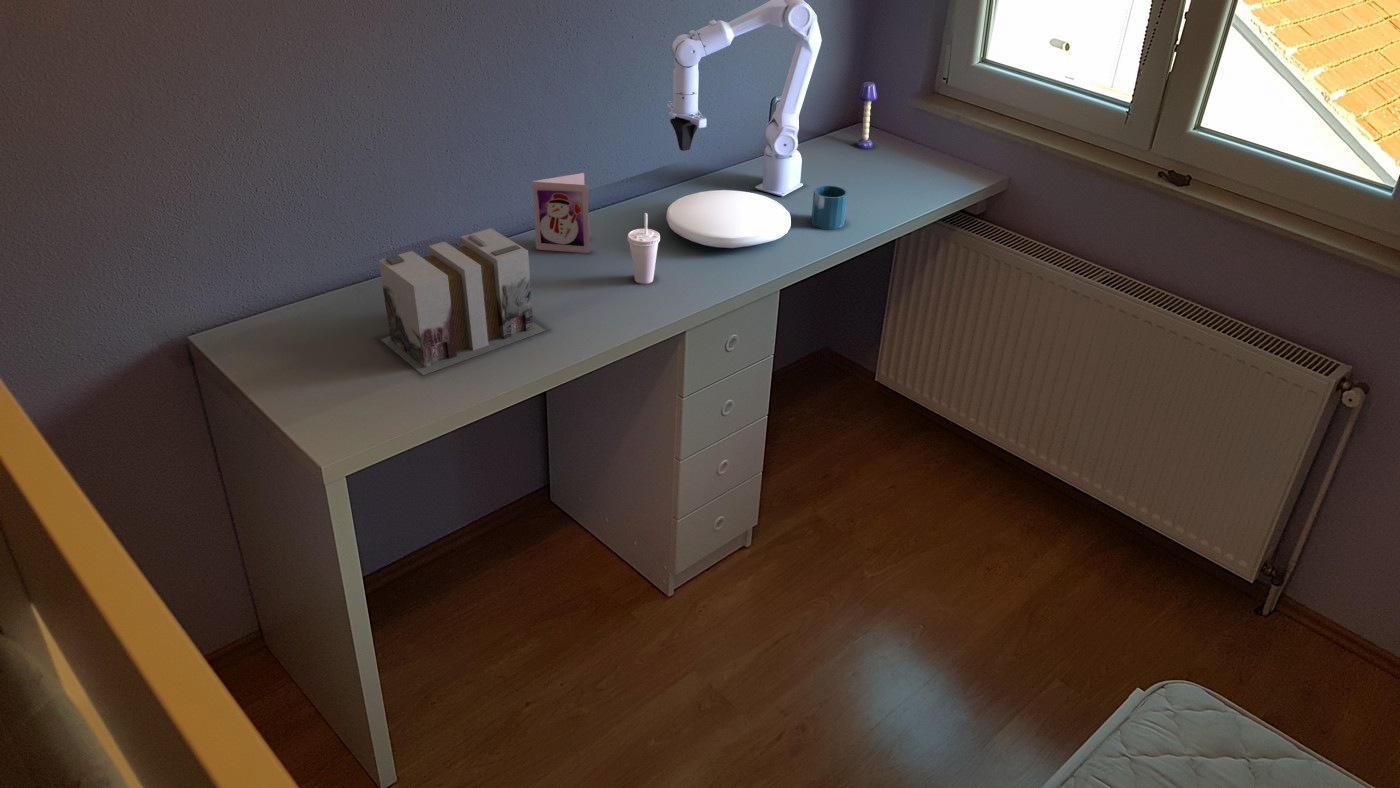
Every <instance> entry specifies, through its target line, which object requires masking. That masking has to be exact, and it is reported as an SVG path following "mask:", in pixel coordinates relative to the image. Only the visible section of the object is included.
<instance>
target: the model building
mask: <svg viewBox="0 0 1400 788" xmlns="http://www.w3.org/2000/svg"><path fill="white" fill-rule="evenodd" d="M428 252H429V255H428V256H423V257H422V256H421V255H419V254H418V253H416V252H415V251H413V250H409V251H407V252H402V253H399V254H396V255H391V256H388V257H385V258H382V259H379V260H378V267H379V271H380V278H381V285H382V292H383V298H384V305H385V310H386V318H387V324H388V330H389V336H386V337H383V338H380V339H379V340H380V341H382V342H383V344H385V345H386V346H387V347H389V349H391V350H392V351H393V352H394V353H396V354H397V355H398V356H399V357H401V358H402V359H403V360H404V361H405V362H406V363H407V364H409V365H410V366H411V367H412V368H414V369H415V370H416V371H417V372H418V373H419V374H420V375H422V376H425V375H428V374H431V373H434V372H436V371H439V370H442V369H445V368H447V367H451V366H452V365H455V364H458V363H461V362H463V361H466V360H470V359H472V358H475V357H478V356H481V355H483V354H486V353H489V352H491V351H494V350H497V349H500V348H502V347H505V346H508V345H511V344H513V343H516V342H519V341H521V340H524V339H527V338H529V337H530V338H531V337H533V336H535V335H538V334H541V333H543V332H546V331H547V330H546V329H544V327H542V326H540V325H539V324H537V323H536V322H535V321H534V317H533V302H532V301H533V300H532V288H531V287H532V286H531V273H530V260H529V250H528V249H526V248H524V247H523V246H521V245H519V244H518V243H517V242H514V241H513V240H511V239H510V238H508V237H507V236H505V235H503V234H502V233H500V232H498V231H497V230H495V229H493V228H492V227H490V228H486V229H483V230H478V231H476V232H473V233H470V234H466V235H462V236H460V246H457V247H454V246H452V245H450V244H449V243H448V242H446V241H441V242H437V243H434V244H431V245H428Z"/></svg>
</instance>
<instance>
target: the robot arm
mask: <svg viewBox="0 0 1400 788" xmlns="http://www.w3.org/2000/svg"><path fill="white" fill-rule="evenodd" d="M708 23H709V24H708V25H706V26H703V27H701V28H699V29H697V30H694V29H692V30H690V31H689V34H686V33H683V34H680V35H678V36H677V37H676V38H675V39H674V40H673V42H672V45H671V47H670V48H671V49H670V50H671V53H672V55H673V57H674V58H673V70H672V101H673V103H670V105H669V104H667V107H668V108H669V110H670V111H669V112H668V116H670V117H672V118H671V119H670V120H669V122H670V124H671V126H672V128H673V131H674V133H675V136H676V141H677V145H678V148H679V150H680V151H682V152H684V151H689V150H691V147H692V144H693V143H692V142H693V140H694V138H695V137H694V136H695V134H696V132H697V129H701V128H702V129H703V128H707V118H706V117H705V116H703V113H701V112H700V109H699V78H700V77H699V75H700V74H699V73H700V71H699V63H700V62H701V59H702V58H704V57H707V56H709V55H711V54H714V53H717V52H718V51H720V50H722V49H724V48H727V47H729V46H731V45H732V42H733V40H734V38H735V37H738V36H740V35H744V34H745V33H748V32H750V31H753V30H756V29H759V28H761V27H763V26H766V25H771V26H775V27H779V28H783V27H784V25H783V24H784V23H785V26H787V28H788V29H789V30H790V31H791V32H792V34H793V36H794V38H795V40H796V41H797V42H796V46H795V49H794V53H793V55H792V59H791V63H790V66H789V68H788V69H789V70H788V73H787V76H786V80H785V83H784V86H783V90H782V93H781V96H780V100H779V102H778V103H779V104H778V106H777V109H776V110H774V112H773V113H772V116H771V119H770V121H768V123H766V125H765V126H764V130H763V136H764V139H765V140H766V142H767V144H766V146H765V148H764V154H763V170H762V171H763V173H762V182H761V183H760V184H758V185H756V186H754V190H758V191H761V192H766V193H769V194H772V195H775V196H779V197H785V196H787V195H788V194H790V193H792V192H794V191H796V190H797V189H799V188H801V187H803V186H804V183H802V182H801V177H802V164H803V160H802V156H801V153H800V152H799V150H797V149H798V146H799V140H798V134H799V129H800V125H799V123H800V122H799V121H800V119H799V117H800V113H801V110H802V107H803V103H804V101H805V97H806V95H807V94H806V93H807V91H808V87H809V84H810V81H811V78H812V74H813V71H814V68H815V64H816V61H817V58H818V55H819V52H820V49H821V45H822V35H821V31H820V26H819V23H818V16H817V14H816V13H815V10H814V9H813V8H812V7H811V5H810V4H808V3H807V2H806V1H805V0H768V1H767V2H765V3H764V4H762V5H759V6H758V7H756V8H753V9H752V10H749V11H748V12H746V13H743V14H742V15H740V16H738V17H736V18H734V19H732V20H730V21H728V22H726V21H724V20H721V19H719V20H715V19H712V20H709V22H708Z"/></svg>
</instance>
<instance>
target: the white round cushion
mask: <svg viewBox="0 0 1400 788" xmlns="http://www.w3.org/2000/svg"><path fill="white" fill-rule="evenodd" d="M666 222H667V224H668V226H669V228H670V229H671V230H672V231H673V232H674V233H675V234H677V235H678V236H680V237H682V238H684V239H686V240H688V241H690V242H693V243H696V244H700V245H703V246H708V247H712V248H713V247H714V248H724V249H725V248H727V249H735V248H745V247H752V246H757V245H762V244H767V243H770V242H774V241H776V240H778V239H781V238H782V237H783V236H785V235H786V234H788V232H789V230H790V229H791V226H792V225H791V224H792V220H791V213H790V212H789V211H788V210H787V209H786V208H785V207H784V205H782V204H781V203H780V202H778V201H776V200H775V199H773V198H770V197H768V196H765V195H762V194H759V193H753V192H748V191H747V192H746V191H742V190H733V189H732V190H730V189H729V190H728V189H720V190H705V191H699V192H695V193H692V194H688V195H685V196H682V197H680V198H678V199H676V200H675V201H673V202H672V203H671V204H670V205H669V206H668V207H667V210H666Z"/></svg>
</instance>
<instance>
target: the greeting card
mask: <svg viewBox="0 0 1400 788" xmlns="http://www.w3.org/2000/svg"><path fill="white" fill-rule="evenodd" d="M588 187H589V186H588V185H587V184H585V172H580V173H574V174H568V175H561V176H556V177H550V178H544V179H537V180H531V188H532V190H531V191H532V204H533V219H534V234H535V235H534V236H535V249H536V250H543V251H555V252H556V251H557V252H568V253H569V252H570V253H571V252H572V253H584V254H585V253H586V254H591V251H590V250H591V249H590V222H589V219H590V217H589V192H588V191H589V190H588V189H589V188H588Z"/></svg>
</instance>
